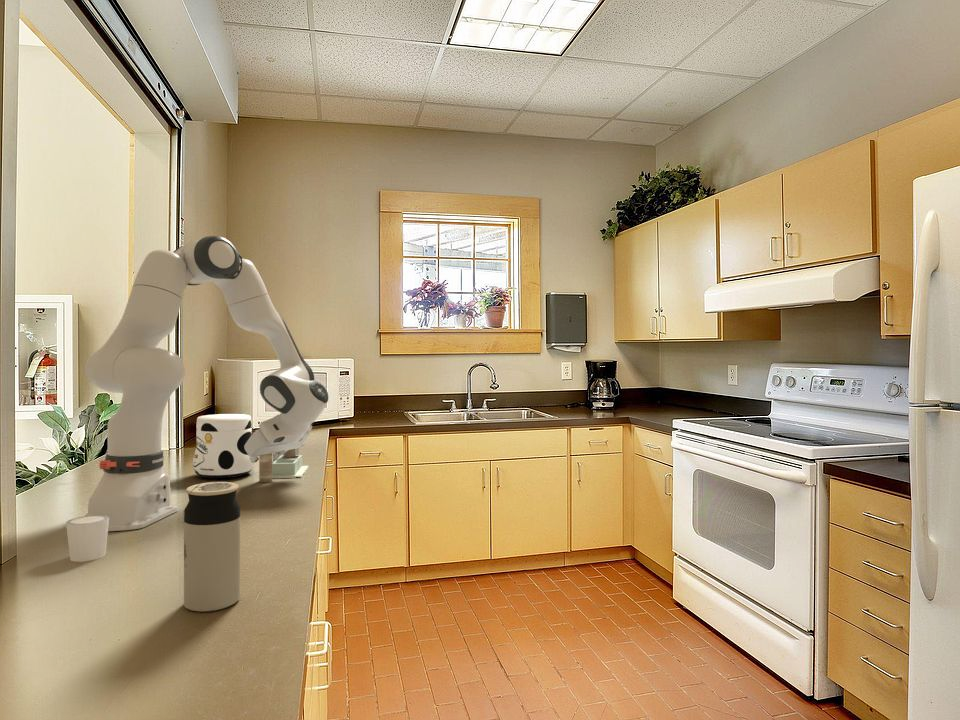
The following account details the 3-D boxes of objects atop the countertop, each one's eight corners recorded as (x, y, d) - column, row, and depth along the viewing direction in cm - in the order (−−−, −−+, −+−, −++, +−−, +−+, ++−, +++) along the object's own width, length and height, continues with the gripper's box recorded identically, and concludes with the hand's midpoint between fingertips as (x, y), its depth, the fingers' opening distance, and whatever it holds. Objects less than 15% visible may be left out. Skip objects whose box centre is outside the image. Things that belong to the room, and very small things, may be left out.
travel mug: (247, 592, 101) (247, 481, 100) (228, 613, 93) (229, 492, 92) (197, 592, 100) (197, 481, 100) (174, 613, 92) (174, 492, 92)
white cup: (101, 548, 121) (101, 512, 121) (115, 556, 117) (115, 518, 117) (60, 557, 116) (60, 519, 116) (73, 565, 112) (73, 526, 112)
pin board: (301, 477, 188) (301, 436, 187) (263, 478, 186) (263, 436, 186) (308, 467, 204) (309, 429, 203) (273, 467, 202) (274, 429, 202)
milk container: (179, 479, 184) (179, 418, 184) (221, 468, 201) (221, 412, 200) (227, 483, 179) (227, 421, 178) (266, 472, 195) (266, 415, 195)
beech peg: (270, 482, 181) (271, 441, 181) (257, 482, 180) (258, 441, 180) (273, 479, 184) (273, 439, 184) (260, 480, 184) (260, 439, 184)
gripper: (309, 415, 188) (284, 445, 193) (256, 422, 170) (230, 455, 175) (320, 431, 186) (295, 461, 191) (268, 440, 168) (242, 472, 173)
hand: (264, 458), depth 183 cm, fingers open, 7 cm apart
